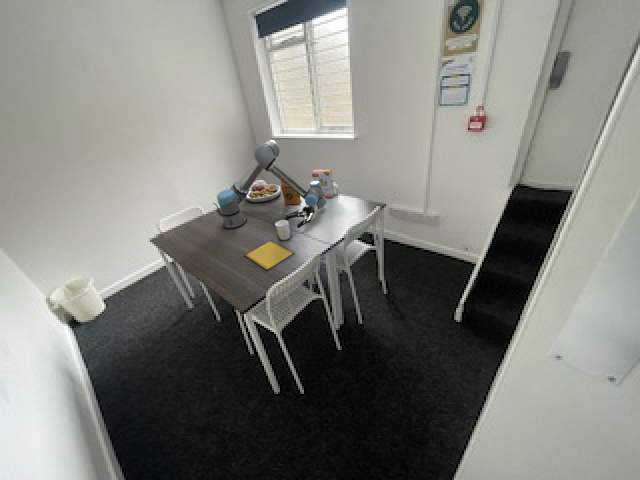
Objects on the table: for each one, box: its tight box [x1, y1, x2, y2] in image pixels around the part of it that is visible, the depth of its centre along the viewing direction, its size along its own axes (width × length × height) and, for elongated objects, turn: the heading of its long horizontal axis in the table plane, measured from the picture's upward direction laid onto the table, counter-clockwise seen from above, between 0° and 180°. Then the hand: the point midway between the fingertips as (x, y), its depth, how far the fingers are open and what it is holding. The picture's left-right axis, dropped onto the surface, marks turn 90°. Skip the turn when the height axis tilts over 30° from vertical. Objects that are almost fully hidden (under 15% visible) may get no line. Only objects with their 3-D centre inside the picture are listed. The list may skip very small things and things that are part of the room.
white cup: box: [274, 219, 292, 241], centre depth 157 cm, size 8×8×10 cm
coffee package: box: [280, 180, 302, 205], centre depth 197 cm, size 10×12×22 cm
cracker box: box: [311, 169, 335, 199], centre depth 199 cm, size 14×6×21 cm, turn 68°
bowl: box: [245, 184, 282, 203], centre depth 221 cm, size 30×30×8 cm
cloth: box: [244, 240, 294, 271], centre depth 146 cm, size 22×18×1 cm
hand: (289, 224), depth 160 cm, fingers open, 13 cm apart
